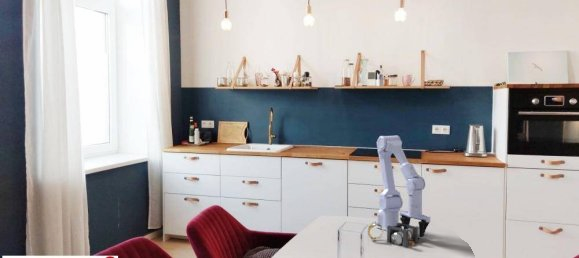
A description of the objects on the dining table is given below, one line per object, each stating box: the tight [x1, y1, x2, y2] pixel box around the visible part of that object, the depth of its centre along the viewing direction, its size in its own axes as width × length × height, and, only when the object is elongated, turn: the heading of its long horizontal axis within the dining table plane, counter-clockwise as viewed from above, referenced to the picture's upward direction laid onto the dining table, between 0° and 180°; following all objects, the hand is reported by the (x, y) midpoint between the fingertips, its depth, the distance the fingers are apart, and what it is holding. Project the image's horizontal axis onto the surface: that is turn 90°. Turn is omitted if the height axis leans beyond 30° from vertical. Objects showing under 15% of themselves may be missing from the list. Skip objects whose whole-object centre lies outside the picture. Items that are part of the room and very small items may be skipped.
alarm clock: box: [367, 221, 384, 241], centre depth 208 cm, size 7×3×8 cm, turn 91°
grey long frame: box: [391, 225, 421, 246], centre depth 207 cm, size 16×5×5 cm, turn 132°
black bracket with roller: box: [386, 222, 419, 248], centre depth 204 cm, size 10×8×7 cm
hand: (414, 234), depth 210 cm, fingers open, 7 cm apart
